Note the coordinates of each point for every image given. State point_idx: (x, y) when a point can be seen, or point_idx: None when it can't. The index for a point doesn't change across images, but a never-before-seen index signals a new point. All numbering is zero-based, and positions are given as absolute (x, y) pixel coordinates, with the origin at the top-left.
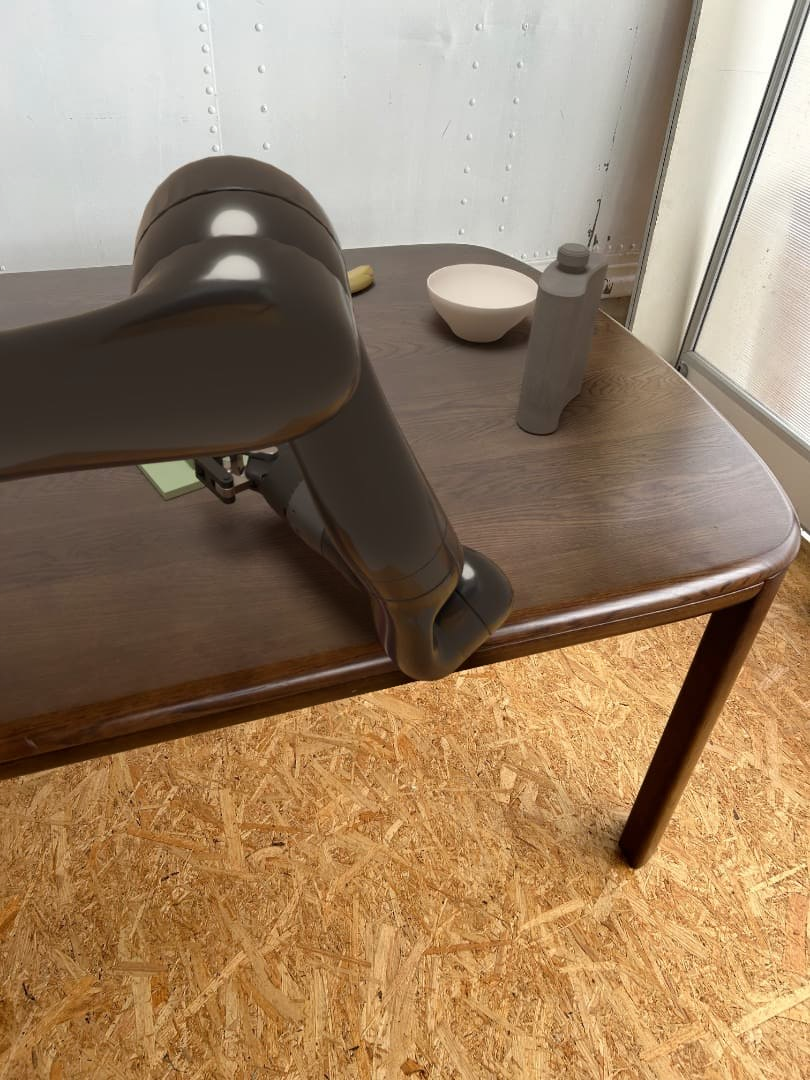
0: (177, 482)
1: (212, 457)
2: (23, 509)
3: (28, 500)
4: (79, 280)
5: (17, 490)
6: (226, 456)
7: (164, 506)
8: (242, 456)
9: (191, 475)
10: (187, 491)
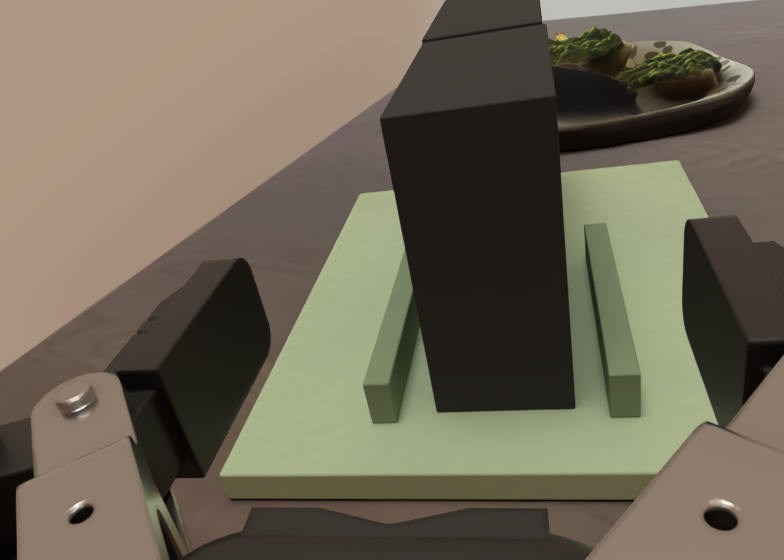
0: (287, 451)
1: (18, 481)
2: (14, 380)
3: (48, 361)
4: (561, 28)
5: (71, 331)
6: (509, 408)
7: (203, 522)
8: (173, 556)
9: (347, 441)
10: (304, 495)
